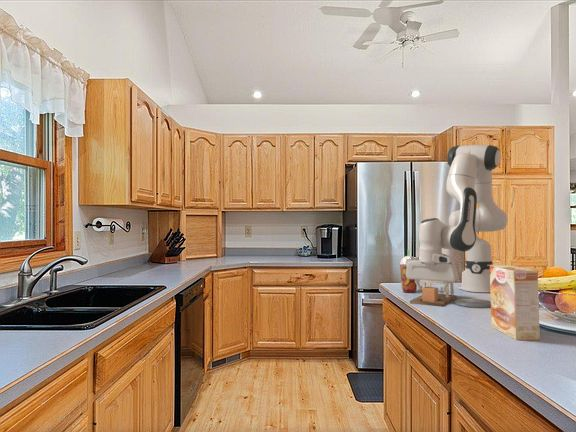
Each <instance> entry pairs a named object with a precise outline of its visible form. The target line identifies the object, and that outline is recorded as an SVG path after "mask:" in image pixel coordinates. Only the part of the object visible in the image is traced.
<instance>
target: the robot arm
mask: <svg viewBox="0 0 576 432" xmlns="http://www.w3.org/2000/svg"><path fill="white" fill-rule="evenodd" d="M446 155H447V156H446V161H447V165H448V167H449V170H448V173H447V177H446V183H445V190H446V193H448V195H449V196H450V197H452V198H453V199H455V200H457V201H458V202H459V203H458V204H459V209H457V210H454V211H452V212H451V213H450V214H449V217H448V224H449V225H448V224H446V223H444V222H442V220H440V219H439V218H436V217H433V218H432V217H431V218H426V219H423V220H421V221H420V223H419V227H418V240H419V241H418V242H419V249H418V251H419V252H418V253H419V254H418V256H419V257H418V256H416V257H414V256H412V257H409V258H408V259H410V260H408V259H407V260H406V266H407V269H406V277H407V278H408V279H415V283H416V285H417V291H421V292H422V288H423V285H420V283H419V282H420V280H421V281H422V280H435V281H443V284H442V285H443V286H442V287H440V292H441V293H446V286H447V285H448V281H452V282H453V283H454V282H456V281H457V280H458V270H457V266H456V264H455V263H454V262H455V258H454V257H453V256H451V255H448V254H445V253H443V252H442V249H445V250H452V251H454V250H456V251H459V252H465V261H464V265H465V269H464V270H463V271H462V272H461V285H460V286H458V289H459V290H462V291H465V292H472V293H491V291H490V265H494V263H493V261H492V246H491V243H490V242H489V241H487V240H485V239H483V238H480V237H479V236H478V233H479V232H480V233H481V232H484V233H485V232H487V233H488V232H497V231H502V230H505V228H506V227H507V226H508V222H509V218H508V215H507V213H506V212H505V211H504V210H503V209H501V208H500V207H499V206H498V204H496V202H495V201H494V197H493V170H495V169H496V168H497V167H498V166H499V165H500V161H501V159H502V155H501V150H500V148H499V147H498V146H495V145H491V144H489V145H485V144H469V145H467V144H466V145H455V146H452V147H451V148H449V150H448V151H447V154H446ZM477 205H478V206H479V207H478V208H477Z"/></svg>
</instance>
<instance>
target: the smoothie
mask: <svg viewBox="0 0 576 432" xmlns="http://www.w3.org/2000/svg"><path fill="white" fill-rule="evenodd" d="M409 257H413V256H412V255H410V250H409V249H407V255H405V256H403V257H402V259H401V260H400V262H399V271H400V283H401V290H402V292H404V293H406V294H413V293H414V292H415V293H416V291H418V287H417V285H416V283H415V279H408V278H407V277H406V269H407V266H406V260H407V259H408V258H409ZM408 260H410V259H408Z"/></svg>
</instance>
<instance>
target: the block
mask: <svg viewBox="0 0 576 432" xmlns="http://www.w3.org/2000/svg"><path fill="white" fill-rule="evenodd" d="M438 294H439V288H438V287H437V286H436V287H435V286H434V287H433V286H431V287H428V286H426V287H424V288H423V287H422V291H421V295H422V301H430V302H437V301H438Z"/></svg>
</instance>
